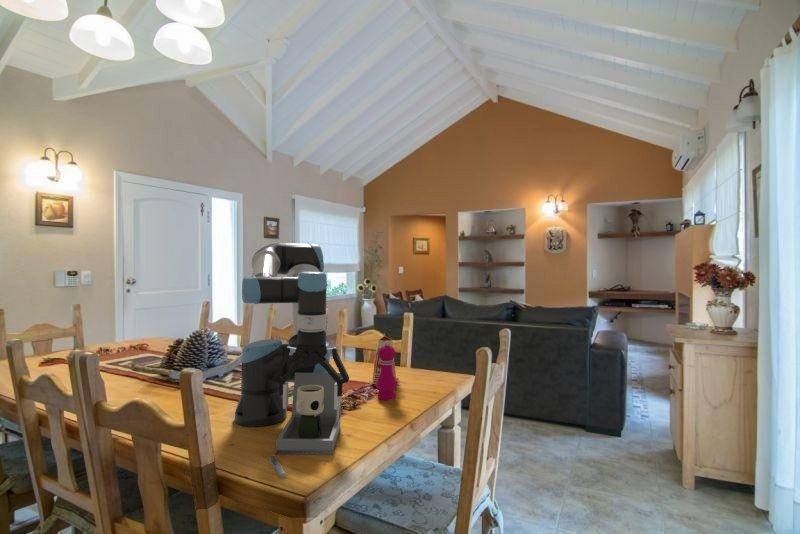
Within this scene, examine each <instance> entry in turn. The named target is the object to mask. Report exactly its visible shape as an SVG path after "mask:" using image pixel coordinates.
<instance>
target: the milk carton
mask: <svg viewBox="0 0 800 534" xmlns="http://www.w3.org/2000/svg"><path fill="white" fill-rule="evenodd" d="M386 341H388V342H389V343H390V344H389V346H392V347H393V340H392V339H391V338H389V337H387V336H386V332H384V333H383V336H382V337H381V338H380V339H378V340H377V344H376V349H375V357H374V364H373V374H372V381H371V385H372V384H374V383H377V380H378V377H379V375H380V372H381V364H380V359H381V358H380V357H379V355H378V352H379V349H380V348H381V347H382V346H385V342H386ZM393 348H394V347H393ZM393 359H394V360H395V357H394V358H393ZM392 371H393V375H394V377H395V379H396V380H397V376H396V364H395V362H394V364H393V366H392Z"/></svg>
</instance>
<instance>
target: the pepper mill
mask: <svg viewBox="0 0 800 534" xmlns="http://www.w3.org/2000/svg"><path fill="white" fill-rule="evenodd" d="M389 344H390V343H389V342H388V341H386V342H385V346H382V347H381V348H380V349H379V352H378V355H379V357H380V358H381V359H380V364H381V372H380V375H379V377H378V380H377V383H376V385H375V387H376V390H378V391H377V393H376V394H377V395H376V397H377V399H378V400H381V401H393V400H395V399H396V392H395V390H396V389H397V378H396V379H395V377H394V375H393V371H392V366H393V364H394V363H395V356H396V349H395V348H394V347H392V346H393V345H392V346H389ZM393 358H394V359H393Z"/></svg>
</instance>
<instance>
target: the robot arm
mask: <svg viewBox="0 0 800 534" xmlns="http://www.w3.org/2000/svg"><path fill="white" fill-rule="evenodd" d="M323 254H324V253H323V250H322V247H321V246H320V245H319V244H316V243H310V242H307V243H292V242H291V243H290V242H275V243H274V242H273V243H271V244H268V245H266V246H265V245H264V246H263V247H261V248H259V249H258V250H257V251H256V252H255V253H253V256H252V258H251V268H252V275H251V276H245V277H243V278H242V282H241V299H242V302H243V303H245V304H254V305H259V304H260V305H261V304H292V335H291V336H290V337H289V338H288V342H287V343H283V342H282V340H281V339H279V338H267V339H261V340H256V341H253V342H250V343H248V344H246V345H245V346H243V348H242V349H241V359H240V364H241V375H240V377H241V378H240V381H241V382H240V387H241V388H240V396H239V399H238V403H237V404H236V409H235V411H234V422H235V423H236V424H237V425H240V426H242V427H243V426H244V427H252V428H253V427H254V428H255V427H256V428H257V427H265V426H270V425H275V424H277V423H280V422H282V421H283V420H285V419H286V418H287V414H288V413H287V412H288V411H287V410H288V406H289V383H294V380H295V373H329V375H330V376H331V377H332V378H333V379H334V381H335V382H336V383H335V385H334V410H337V408H338V396H341V395H342V396H343V384H348V382H349V381H350V376H349V374H348V371H347V370H346V368H345V366H344V363H343V361H342V359H341V357H340V355H339V351H338V350H339V349H338V347H337V346H334V347H331V343H330V342H328V341H327V331H326V330H325V329H326V328H327V290H328V283H327V282H328V281H327V273H325V272H324V270H325V269H324V268H325V262H324V255H323ZM278 275H285V276H278ZM286 275H287V276H286ZM331 357H332V359H333V361H334V363H335V366H336V368H337V370H338V372H337V371H336V370H335V368H334V367H333V366H332V365H331V363H330V358H331ZM338 373H340V374H341V376H342V378H341V377H340V376H339V374H338Z"/></svg>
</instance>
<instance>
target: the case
mask: <svg viewBox="0 0 800 534" xmlns="http://www.w3.org/2000/svg"><path fill="white" fill-rule="evenodd" d="M337 373H338V374H339V376H340V377H341V378H342V376H341V374H340V372H337ZM335 383H336V382H335V381H334V379H333V378H332V377H331V376H330V375H329V373H295V380H294V382H293V394H292V405H291V406H292V407H291V416H290V417H289V419H288V420H287V423H286V424H285V425H284V427H283V429H282V431H281V432H280V434H279V436H278V437H277V439H276V443H275V445H276V447H275V450H276V451H275V452H276V453H275V454H276V455H333V453H334V450H335V448H334V447H336V443H337V441H338V440H337V439H338V436H339V435H340V430H341V416H342V414H341V413H342V396H343V394H342V395H341V396H338V408H337V410H334V385H335ZM304 385H319V386H322V387H323V388H324V400H323V403H324V409H323V411H322V413H320V414H319V415H320V420H321V430H322V434H321V436H320V432H319V433H318V437H317V438H313V439H306V438H303V437H301V436H299V435H298V428H299V422H300V417H301V415H302V414H299V413H298V412H296V401H297V389H298V388H299V387H301V386H304Z"/></svg>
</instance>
